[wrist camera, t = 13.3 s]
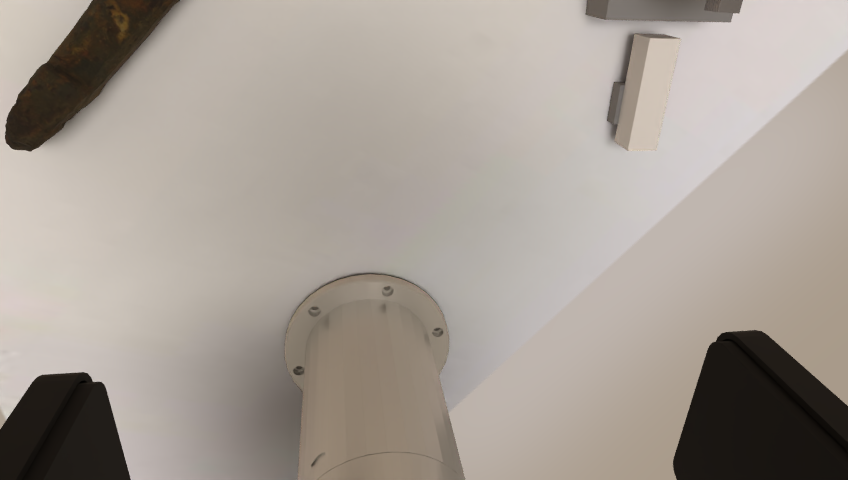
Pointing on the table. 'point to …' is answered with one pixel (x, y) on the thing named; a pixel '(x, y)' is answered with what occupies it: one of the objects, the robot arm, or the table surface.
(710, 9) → the tan wooden block
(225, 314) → the table surface
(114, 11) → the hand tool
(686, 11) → the socket
